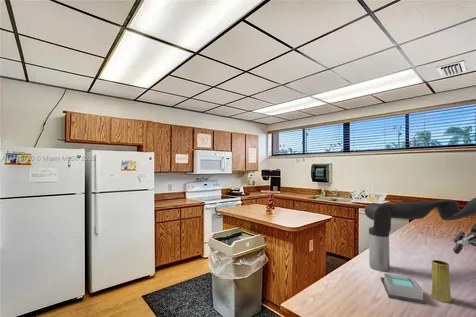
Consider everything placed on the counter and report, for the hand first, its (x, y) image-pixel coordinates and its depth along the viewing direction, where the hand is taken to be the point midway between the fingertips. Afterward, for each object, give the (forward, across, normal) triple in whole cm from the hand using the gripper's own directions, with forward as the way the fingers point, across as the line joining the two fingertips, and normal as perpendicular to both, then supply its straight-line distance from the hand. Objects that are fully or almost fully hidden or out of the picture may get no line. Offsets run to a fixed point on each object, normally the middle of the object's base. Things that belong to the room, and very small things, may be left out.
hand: (466, 256), depth 97 cm
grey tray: (+28, +8, +5) cm, 29 cm away
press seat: (+27, +6, +8) cm, 28 cm away
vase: (+20, 0, -3) cm, 20 cm away
